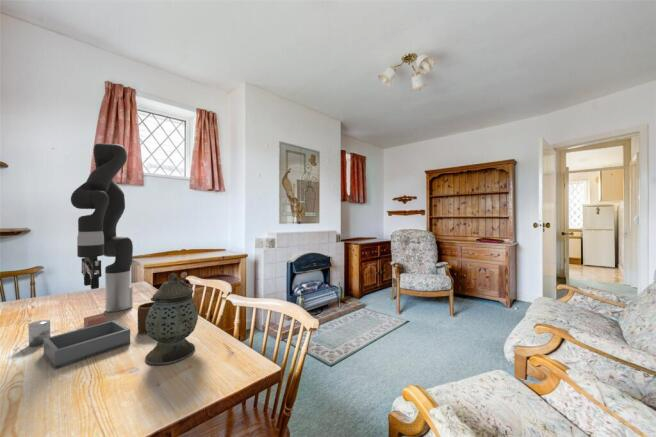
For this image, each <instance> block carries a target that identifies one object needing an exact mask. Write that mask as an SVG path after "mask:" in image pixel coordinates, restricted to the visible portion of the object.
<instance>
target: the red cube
mask: <svg viewBox="0 0 656 437" xmlns="http://www.w3.org/2000/svg"><path fill="white" fill-rule="evenodd" d="M105 322H107V321H106V316H105V315H104V314H102V313H99V314H95V315H91V316H87V317H86V316H85V317H83V328H86V327H90V326H94V325H98V324H102V323H105Z"/></svg>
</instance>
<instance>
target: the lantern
mask: <svg viewBox="0 0 656 437" xmlns="http://www.w3.org/2000/svg"><path fill="white" fill-rule="evenodd" d="M167 279H168V281H166V282H165V281H164V282H163V283H162V284H161V285H160V287H159V288H158V290H156V292H155V293H154V294H152V297H150V301H151V302H155V303H154V304H153V306H152V307H151V308H150V309H149V312H148V315H147V318H146V321H145V325H146V331H147V333H146V334H147V336H148V337H149V338H150V339H152V340H153V341H156V342H157V343H156V345H155V346H154V347H153V349H151V351H149V352H148V353H147V354H146V355H145V358H144V362H145V363H146V365H149V366H152V367H153V366H154V367H155V366H156V367H161V366H162V367H163V366H169V365H173V364H176V363H179V362H182V361H184V360H186V359H188V358H189V357H191V356H192V355H193V354H194V352H195V351H196V346H195V344H194V343H193V342H191V341H189V340H187V339H186V338H188V337H189V336H190V335H191V334H192V333H193V332H194V331H195V329H196V326H197V323H198V320H199V315H198V314H199V312H198V311H199V310H198V307H197V305H196V302H195V299H194V297H193V293H194V289H193V288H190V287H189V284H188V283H186V282H185V281H184V280H182V279H179V277H178V274H177V273H174V272H173V273H170V274H169V275H168V277H167Z"/></svg>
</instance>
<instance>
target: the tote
mask: <svg viewBox="0 0 656 437" xmlns="http://www.w3.org/2000/svg"><path fill="white" fill-rule="evenodd" d="M128 345H131V329H130V328H129V327H128V326H125V325H123V324H122V323H120V322H118V321H117V320H114V319H113V320H110V321H106V322H105V323H102V324H98V325H94V326H90V327H86V328H84V327H83V328H79V329H76V330H72V331H68V332H64V333H59V334H57V335H53V336H52V335H51V336H50V337H48V338H45V339H43V345H42V346H43V347H42V348H43V356H44V357H45V359H46V360H47V361H48V362H49V364H50V365H51V367H52V368H53V369H54V370H57V369H60V368H64V367H66V366H70V365H73V364H75V363H78V362H82V361H84V360H87V359H91V358H93V357H96V356H99V355H102V354H104V353H107V352H111V351H114V350H116V349H120V348H123V347H126V346H128Z"/></svg>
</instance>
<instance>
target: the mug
mask: <svg viewBox="0 0 656 437" xmlns="http://www.w3.org/2000/svg"><path fill="white" fill-rule="evenodd" d="M154 303H155V302H154V301H151V302H150V301H149V302H146V303H143V304H142V303H141V304H139V305H138V307H137V332H138V333H139V334H142V335H143V334H148V333H147V331H146V325H145V321H146V318H147V315H148V312H149V309H150V308H151V307H152V306H153V304H154Z"/></svg>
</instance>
